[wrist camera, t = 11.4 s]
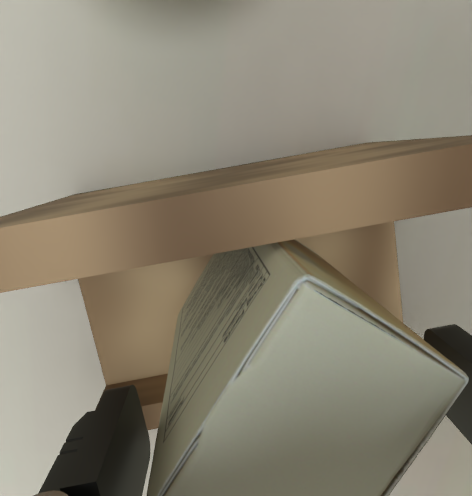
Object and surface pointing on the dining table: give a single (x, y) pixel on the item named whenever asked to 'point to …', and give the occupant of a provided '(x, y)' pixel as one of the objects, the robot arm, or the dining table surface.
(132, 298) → the wooden holder
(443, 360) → the skincare box
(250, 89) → the dining table surface
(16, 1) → the dining table surface
